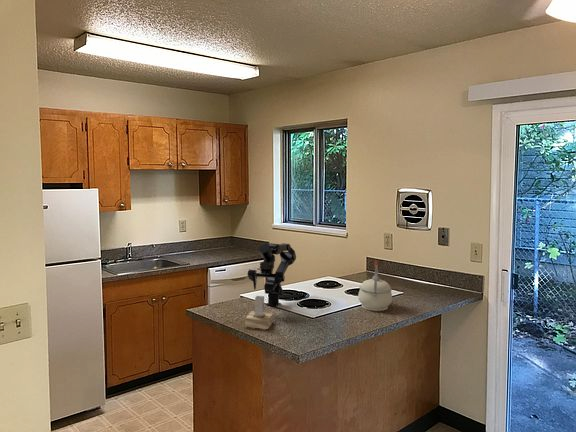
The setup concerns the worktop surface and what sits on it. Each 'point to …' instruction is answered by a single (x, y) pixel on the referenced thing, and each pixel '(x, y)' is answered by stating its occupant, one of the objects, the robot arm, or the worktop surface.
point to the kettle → (375, 292)
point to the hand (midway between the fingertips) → (263, 290)
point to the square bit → (259, 306)
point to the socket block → (259, 320)
